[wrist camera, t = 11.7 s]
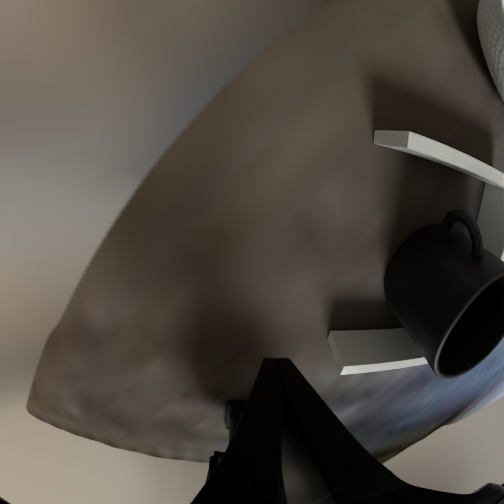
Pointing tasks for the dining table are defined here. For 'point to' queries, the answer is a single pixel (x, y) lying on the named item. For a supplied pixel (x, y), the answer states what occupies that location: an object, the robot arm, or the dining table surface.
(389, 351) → the tray
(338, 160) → the dining table surface
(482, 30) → the cereal bowl
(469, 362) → the mug
